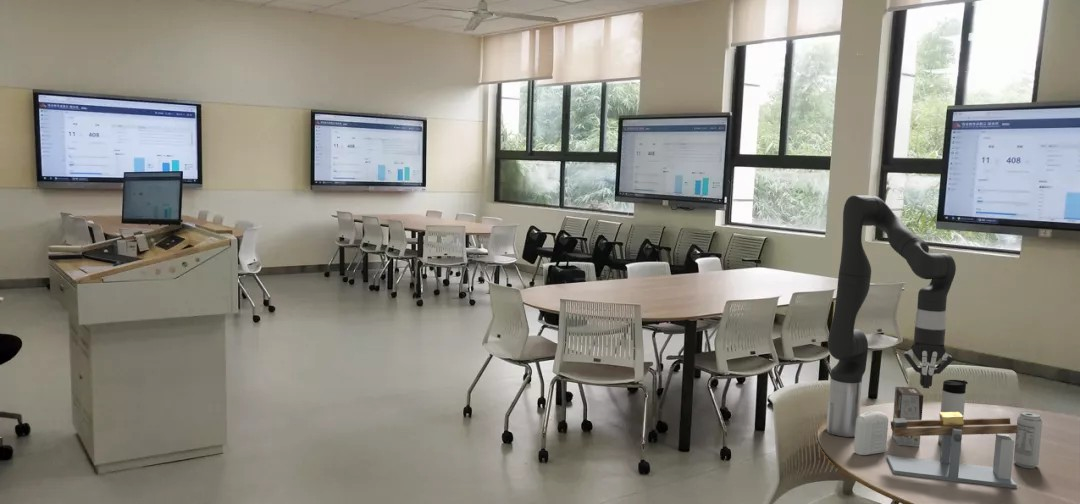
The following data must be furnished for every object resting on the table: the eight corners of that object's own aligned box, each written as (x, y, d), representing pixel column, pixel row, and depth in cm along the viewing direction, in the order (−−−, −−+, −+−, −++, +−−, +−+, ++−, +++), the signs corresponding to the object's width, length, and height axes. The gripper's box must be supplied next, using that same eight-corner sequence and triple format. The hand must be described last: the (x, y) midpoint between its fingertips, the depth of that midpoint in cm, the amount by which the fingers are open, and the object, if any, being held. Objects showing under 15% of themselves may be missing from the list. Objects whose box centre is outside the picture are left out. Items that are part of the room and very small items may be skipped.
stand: (893, 474, 213) (897, 425, 211) (886, 458, 225) (889, 411, 223) (1017, 489, 205) (1021, 437, 203) (1002, 471, 217) (1006, 422, 215)
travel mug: (965, 448, 234) (970, 384, 232) (941, 446, 236) (946, 382, 234) (958, 441, 240) (963, 378, 238) (935, 439, 242) (940, 376, 240)
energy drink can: (1043, 468, 220) (1048, 416, 218) (1026, 469, 218) (1031, 418, 217) (1024, 460, 226) (1029, 410, 224) (1008, 462, 224) (1012, 411, 223)
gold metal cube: (944, 430, 212) (942, 417, 212) (940, 425, 216) (939, 412, 216) (964, 429, 211) (963, 416, 210) (960, 424, 215) (959, 411, 215)
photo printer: (876, 447, 233) (879, 407, 232) (888, 452, 230) (891, 411, 228) (851, 452, 229) (854, 411, 228) (862, 457, 225) (865, 415, 224)
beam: (895, 439, 214) (894, 424, 214) (891, 431, 221) (890, 416, 221) (1017, 437, 206) (1016, 420, 206) (1009, 428, 213) (1008, 413, 212)
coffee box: (920, 447, 235) (924, 395, 233) (897, 445, 236) (901, 394, 234) (912, 437, 243) (916, 387, 242) (890, 435, 245) (894, 385, 243)
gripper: (906, 326, 211) (901, 388, 212) (960, 330, 207) (955, 393, 209) (901, 321, 218) (897, 381, 220) (953, 325, 214) (948, 386, 216)
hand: (925, 387), depth 214 cm, fingers closed
